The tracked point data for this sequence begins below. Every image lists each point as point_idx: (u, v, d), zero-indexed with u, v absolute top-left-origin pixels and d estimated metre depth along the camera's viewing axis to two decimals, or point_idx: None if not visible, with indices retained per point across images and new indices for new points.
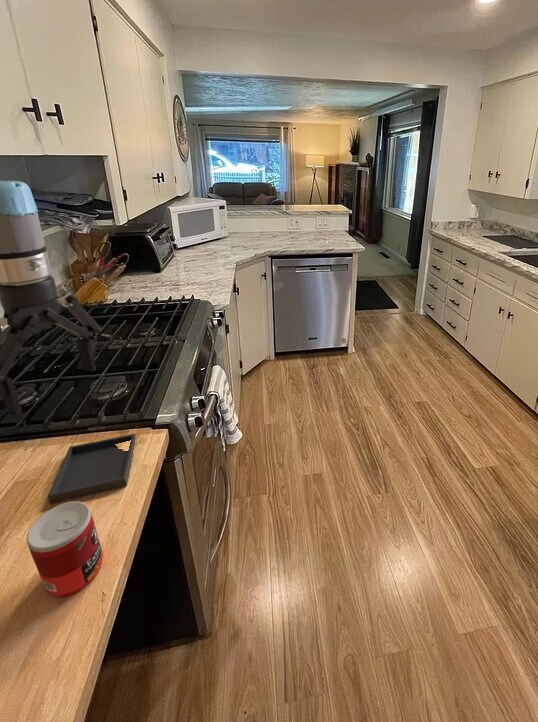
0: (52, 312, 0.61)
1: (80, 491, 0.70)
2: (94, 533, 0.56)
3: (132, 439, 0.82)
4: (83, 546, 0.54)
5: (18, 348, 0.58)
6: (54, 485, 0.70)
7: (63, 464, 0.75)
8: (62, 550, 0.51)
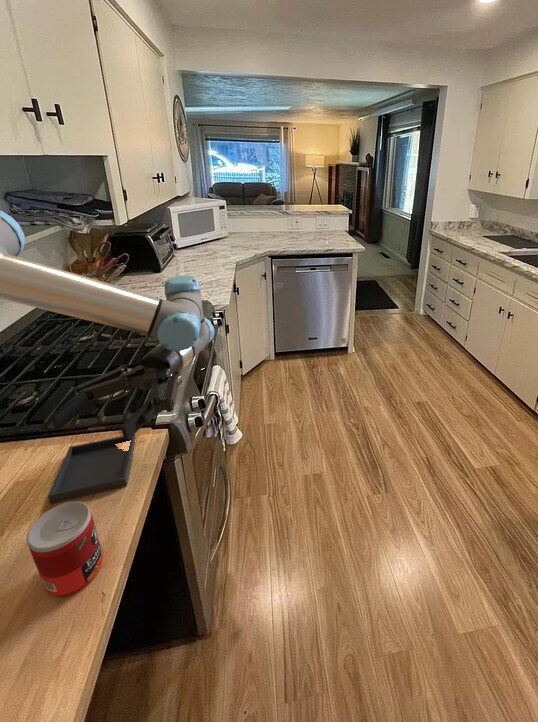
0: None
1: (80, 491, 0.70)
2: (94, 533, 0.56)
3: (132, 439, 0.82)
4: (83, 546, 0.54)
5: None
6: (54, 485, 0.70)
7: (63, 464, 0.75)
8: (62, 550, 0.51)
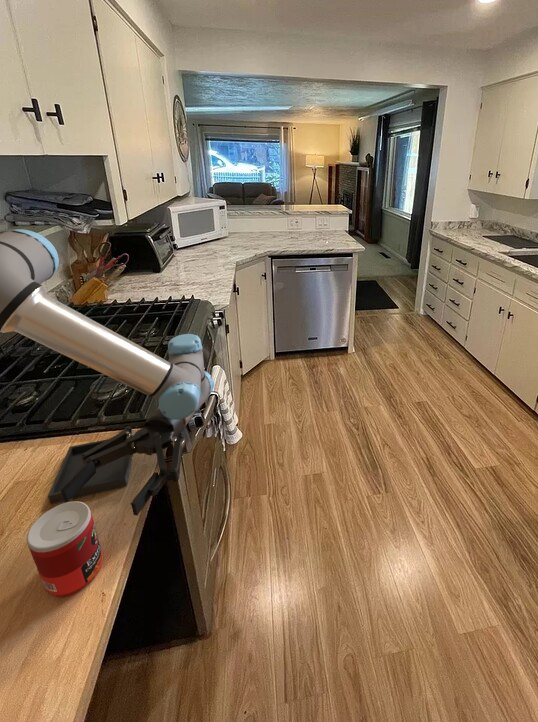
0: None
1: (80, 491, 0.70)
2: (94, 533, 0.56)
3: None
4: (83, 546, 0.54)
5: None
6: (54, 485, 0.70)
7: (63, 464, 0.75)
8: (62, 550, 0.51)
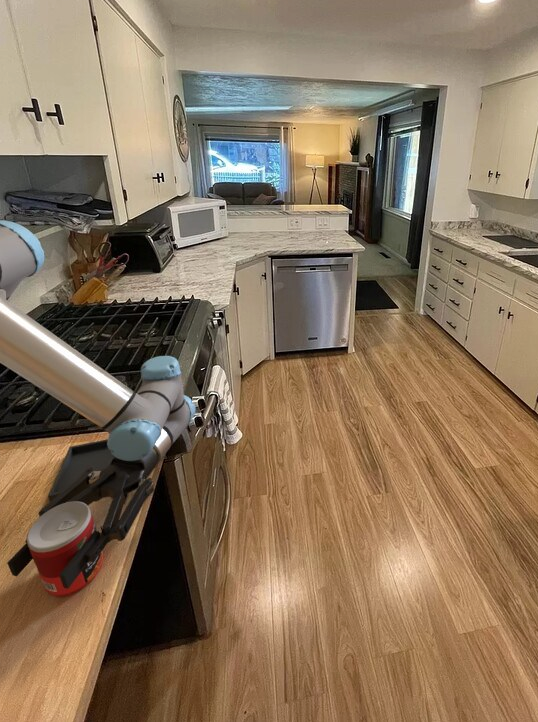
0: None
1: None
2: None
3: None
4: None
5: None
6: (54, 485, 0.70)
7: (63, 464, 0.75)
8: (62, 550, 0.51)
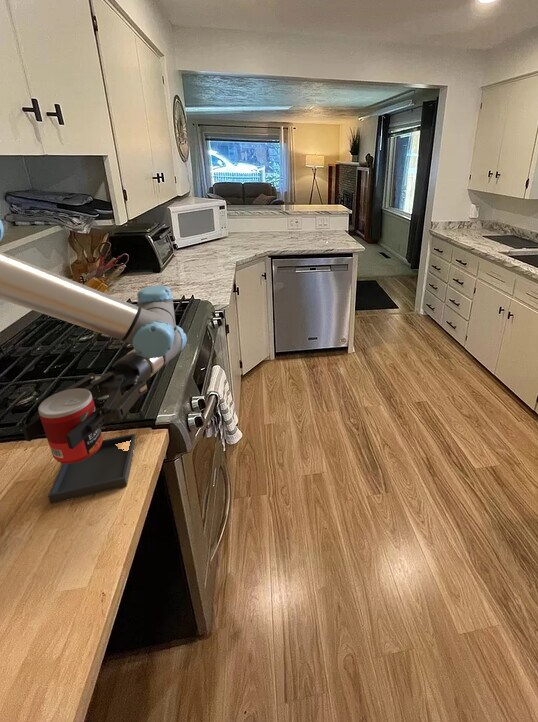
0: None
1: (80, 491, 0.70)
2: None
3: (132, 439, 0.82)
4: None
5: None
6: (54, 485, 0.70)
7: (63, 464, 0.75)
8: (67, 419, 0.61)
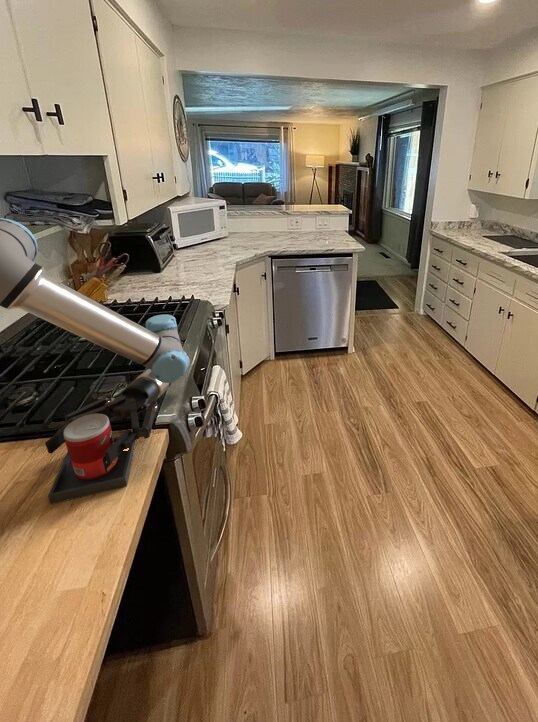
0: None
1: (80, 491, 0.70)
2: (111, 436, 0.75)
3: None
4: (104, 442, 0.72)
5: None
6: (54, 485, 0.70)
7: (63, 464, 0.75)
8: (89, 442, 0.70)
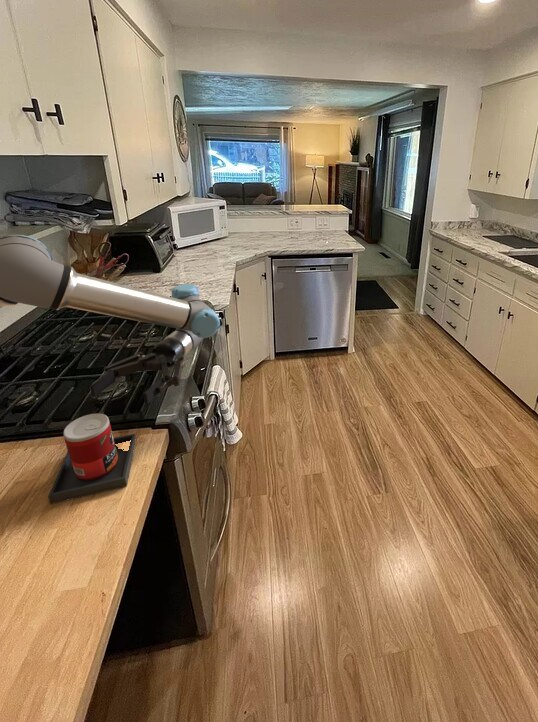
0: None
1: (80, 491, 0.70)
2: (111, 436, 0.75)
3: (132, 439, 0.82)
4: (104, 442, 0.72)
5: None
6: (54, 485, 0.70)
7: (63, 464, 0.75)
8: (89, 442, 0.70)
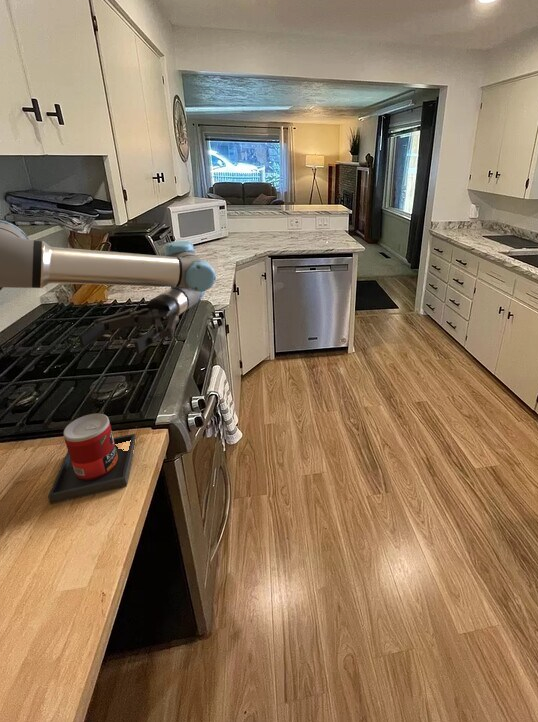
0: None
1: (80, 491, 0.70)
2: (111, 436, 0.75)
3: (132, 439, 0.82)
4: (104, 442, 0.72)
5: None
6: (54, 485, 0.70)
7: (63, 464, 0.75)
8: (89, 442, 0.70)
